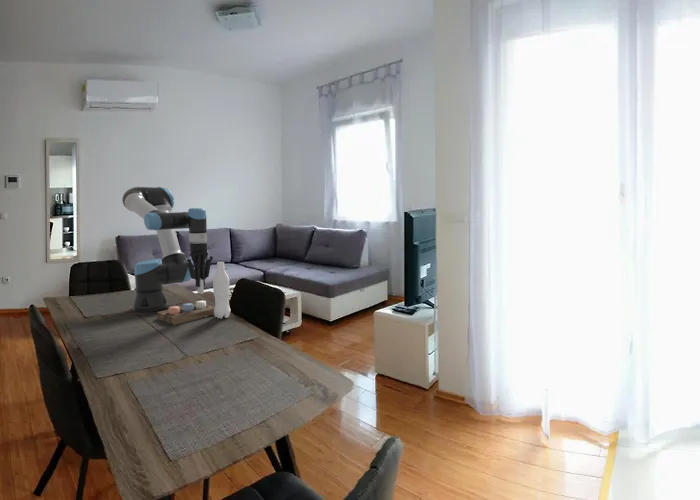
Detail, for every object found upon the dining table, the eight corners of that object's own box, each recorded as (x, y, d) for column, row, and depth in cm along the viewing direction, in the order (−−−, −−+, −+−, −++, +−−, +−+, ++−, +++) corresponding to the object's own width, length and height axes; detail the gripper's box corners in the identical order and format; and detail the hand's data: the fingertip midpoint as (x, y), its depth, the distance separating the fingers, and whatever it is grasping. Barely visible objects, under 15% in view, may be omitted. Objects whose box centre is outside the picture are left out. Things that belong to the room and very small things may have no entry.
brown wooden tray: (157, 318, 182) (157, 312, 182) (200, 309, 199) (200, 303, 198) (174, 324, 174) (173, 318, 173) (217, 314, 190) (217, 307, 189)
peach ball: (166, 316, 180) (166, 307, 180) (176, 314, 184) (176, 305, 183) (172, 318, 178) (171, 309, 177) (181, 316, 181) (181, 307, 181)
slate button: (180, 313, 186) (180, 304, 185) (190, 311, 189) (189, 302, 188) (186, 315, 183) (185, 306, 182) (195, 313, 186) (194, 304, 186)
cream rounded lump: (194, 310, 191) (193, 301, 190) (202, 308, 194) (202, 300, 193) (199, 312, 188) (199, 303, 187) (208, 310, 191) (207, 301, 191)
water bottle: (233, 315, 188) (231, 261, 185) (227, 319, 181) (225, 263, 178) (218, 314, 189) (216, 260, 186) (211, 319, 182) (209, 263, 179)
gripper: (189, 244, 180) (192, 297, 182) (215, 241, 190) (217, 292, 192) (180, 243, 184) (183, 294, 187) (206, 240, 194) (208, 290, 197)
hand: (200, 293), depth 190 cm, fingers closed
